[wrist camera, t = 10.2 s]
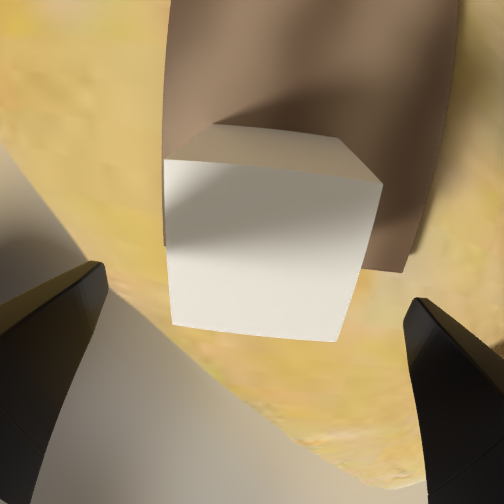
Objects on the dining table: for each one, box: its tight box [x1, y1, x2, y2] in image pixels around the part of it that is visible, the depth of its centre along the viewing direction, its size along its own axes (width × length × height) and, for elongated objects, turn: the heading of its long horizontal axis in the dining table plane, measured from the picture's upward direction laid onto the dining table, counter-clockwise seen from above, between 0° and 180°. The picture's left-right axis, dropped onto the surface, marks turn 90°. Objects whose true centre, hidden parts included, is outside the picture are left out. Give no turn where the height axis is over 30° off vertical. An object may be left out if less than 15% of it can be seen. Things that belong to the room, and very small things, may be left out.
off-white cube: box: [164, 124, 383, 342], centre depth 13 cm, size 6×6×7 cm
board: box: [162, 0, 458, 273], centre depth 14 cm, size 14×19×2 cm
